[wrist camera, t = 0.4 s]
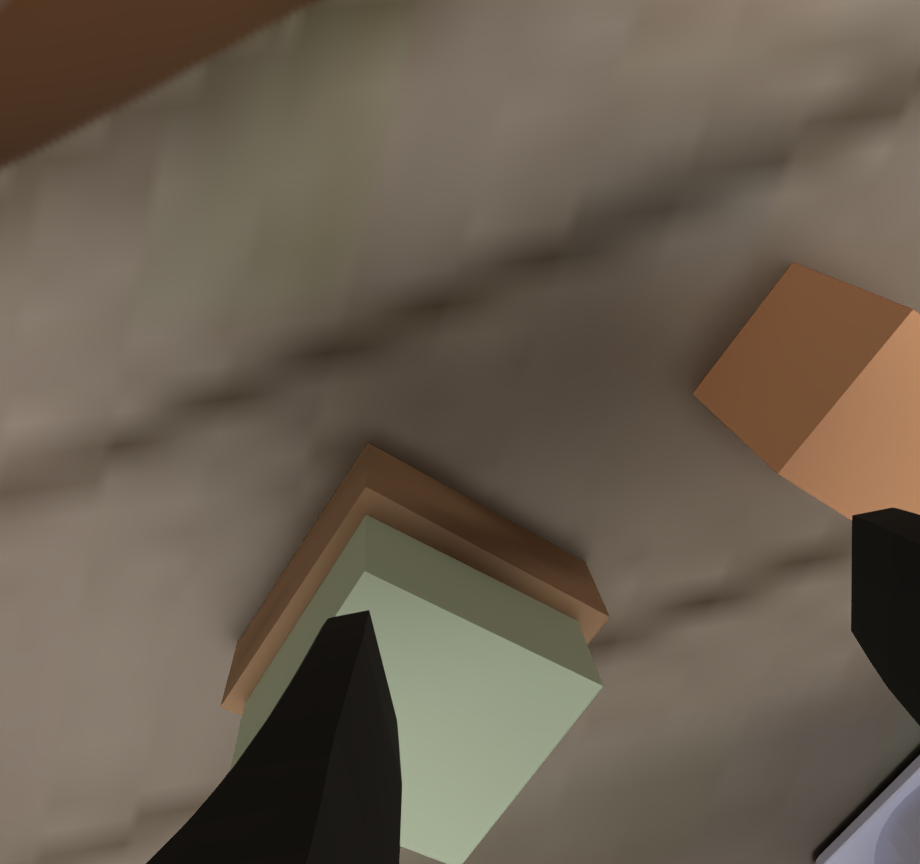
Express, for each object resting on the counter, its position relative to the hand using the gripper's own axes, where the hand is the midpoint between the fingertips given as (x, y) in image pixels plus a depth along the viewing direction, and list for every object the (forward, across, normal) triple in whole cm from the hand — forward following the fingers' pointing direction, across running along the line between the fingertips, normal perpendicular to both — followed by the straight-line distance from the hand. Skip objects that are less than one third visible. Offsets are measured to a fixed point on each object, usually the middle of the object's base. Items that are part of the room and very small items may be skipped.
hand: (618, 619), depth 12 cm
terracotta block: (+10, -7, +1) cm, 12 cm away
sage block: (+7, +4, +5) cm, 10 cm away
